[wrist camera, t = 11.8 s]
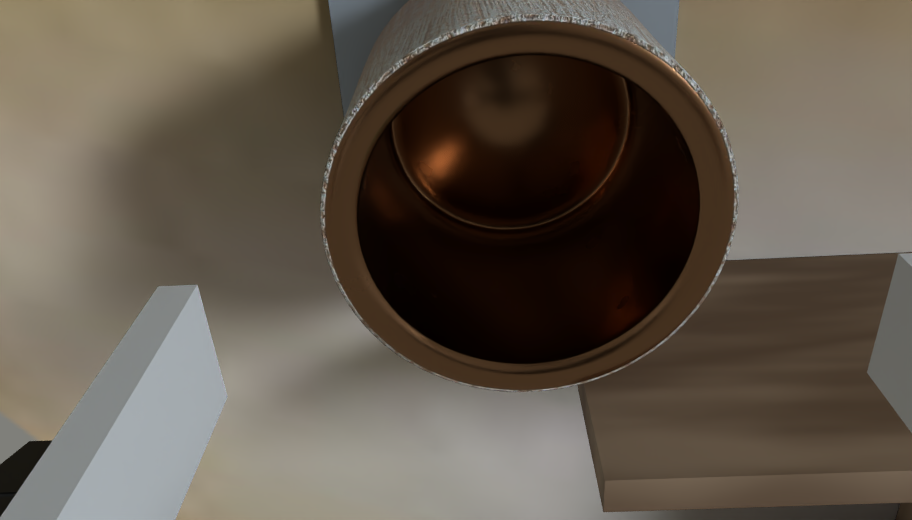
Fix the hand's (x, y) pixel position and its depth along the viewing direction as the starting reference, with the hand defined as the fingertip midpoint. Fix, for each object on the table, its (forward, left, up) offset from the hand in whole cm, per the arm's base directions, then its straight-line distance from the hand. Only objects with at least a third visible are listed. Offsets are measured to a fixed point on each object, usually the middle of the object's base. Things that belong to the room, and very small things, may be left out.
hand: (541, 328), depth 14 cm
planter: (0, 0, -15) cm, 15 cm away
